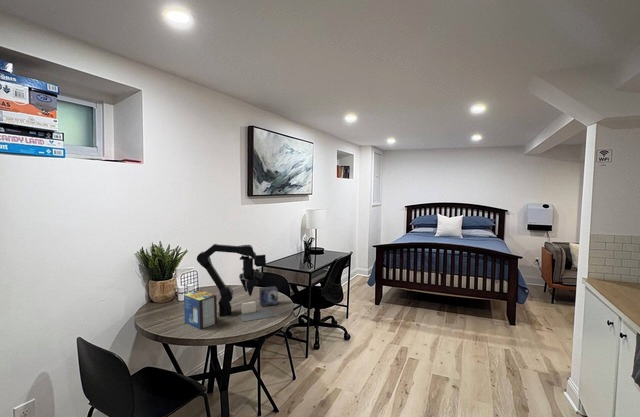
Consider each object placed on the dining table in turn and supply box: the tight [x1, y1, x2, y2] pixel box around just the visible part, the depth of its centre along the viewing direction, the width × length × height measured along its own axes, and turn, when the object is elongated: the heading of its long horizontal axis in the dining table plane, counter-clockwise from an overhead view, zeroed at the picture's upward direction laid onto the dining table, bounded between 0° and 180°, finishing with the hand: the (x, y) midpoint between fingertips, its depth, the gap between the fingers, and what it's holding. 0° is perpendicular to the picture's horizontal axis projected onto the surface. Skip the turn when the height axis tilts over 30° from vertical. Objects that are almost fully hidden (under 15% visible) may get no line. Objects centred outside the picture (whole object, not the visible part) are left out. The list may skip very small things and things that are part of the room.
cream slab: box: [240, 301, 257, 314], centre depth 197 cm, size 8×2×6 cm, turn 116°
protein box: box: [183, 290, 218, 330], centre depth 181 cm, size 10×15×16 cm
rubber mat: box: [238, 309, 276, 323], centre depth 192 cm, size 18×12×1 cm, turn 116°
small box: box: [258, 285, 279, 308], centre depth 211 cm, size 11×6×10 cm, turn 112°
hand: (248, 293), depth 196 cm, fingers open, 9 cm apart
